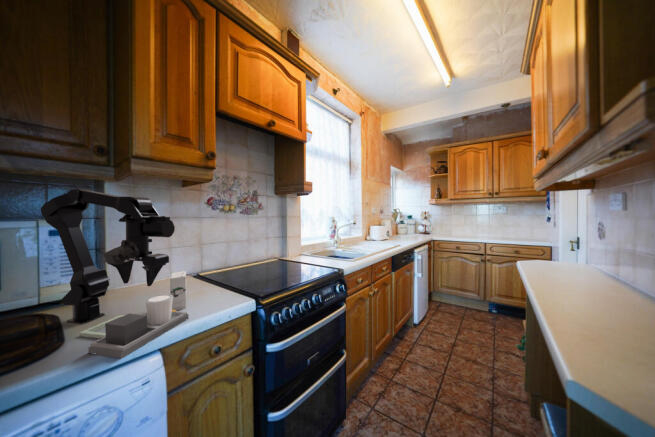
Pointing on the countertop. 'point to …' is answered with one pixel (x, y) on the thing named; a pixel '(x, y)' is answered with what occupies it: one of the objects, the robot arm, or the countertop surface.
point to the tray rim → (90, 332)
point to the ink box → (178, 290)
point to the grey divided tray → (132, 334)
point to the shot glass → (159, 309)
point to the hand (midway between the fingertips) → (137, 284)
